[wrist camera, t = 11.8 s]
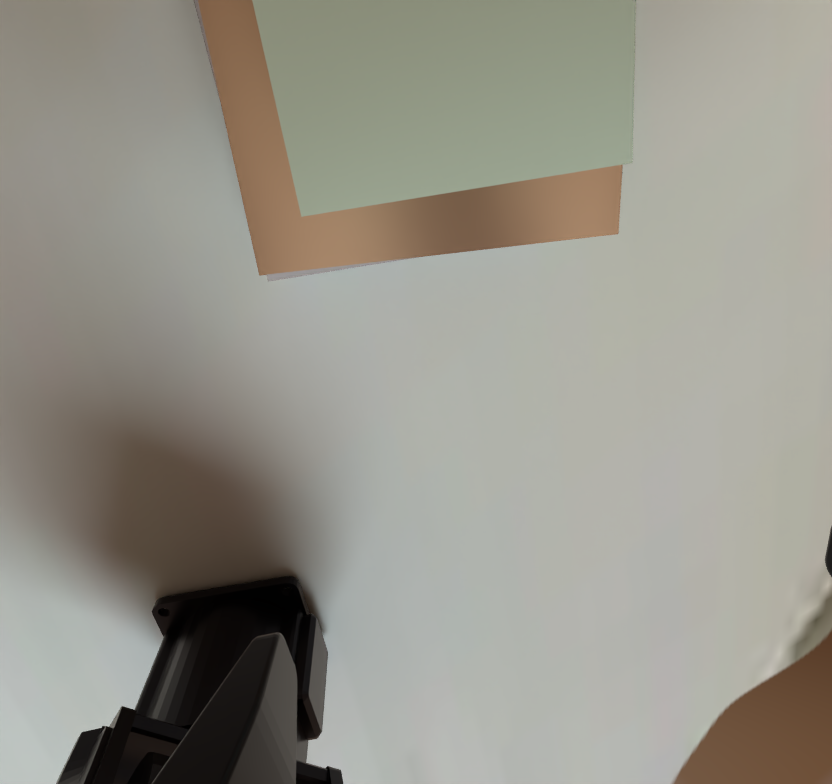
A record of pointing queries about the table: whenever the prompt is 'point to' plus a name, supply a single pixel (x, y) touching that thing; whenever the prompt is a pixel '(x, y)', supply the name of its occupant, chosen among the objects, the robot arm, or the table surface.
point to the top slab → (383, 223)
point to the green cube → (446, 93)
